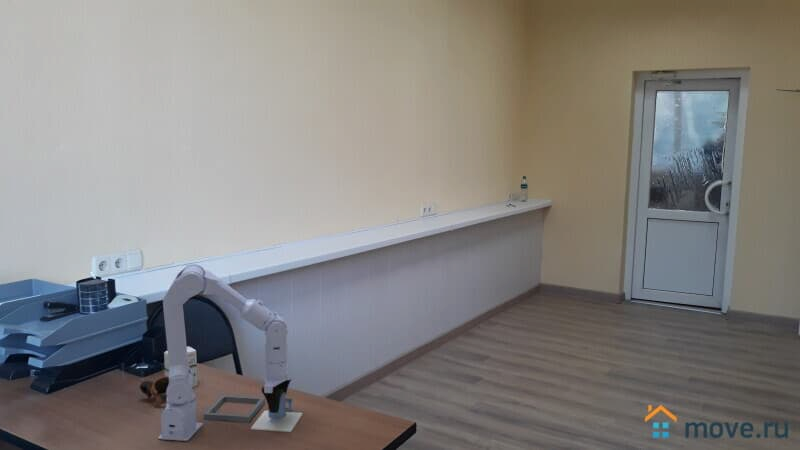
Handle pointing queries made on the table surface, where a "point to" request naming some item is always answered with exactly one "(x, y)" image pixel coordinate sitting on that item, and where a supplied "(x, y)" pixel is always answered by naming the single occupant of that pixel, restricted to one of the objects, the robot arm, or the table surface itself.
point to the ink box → (191, 360)
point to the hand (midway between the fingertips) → (277, 408)
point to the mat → (277, 422)
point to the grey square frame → (232, 417)
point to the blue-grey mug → (282, 408)
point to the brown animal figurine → (156, 389)
